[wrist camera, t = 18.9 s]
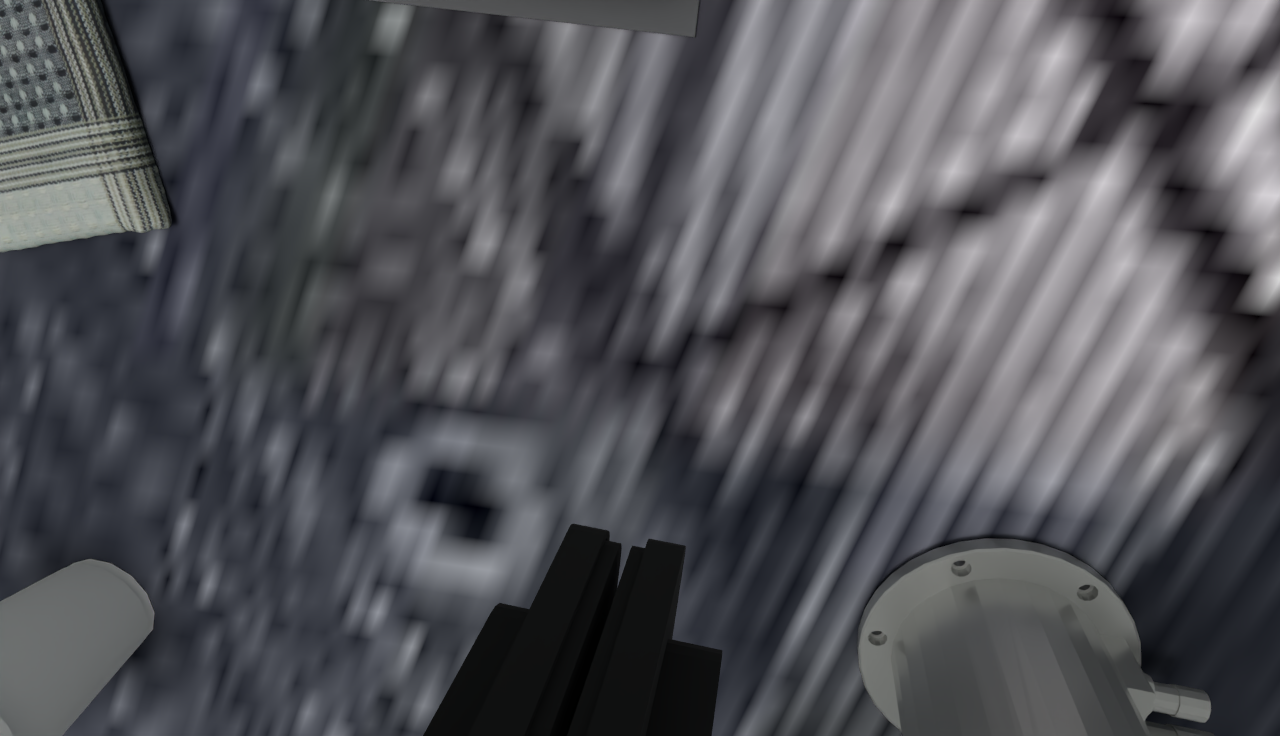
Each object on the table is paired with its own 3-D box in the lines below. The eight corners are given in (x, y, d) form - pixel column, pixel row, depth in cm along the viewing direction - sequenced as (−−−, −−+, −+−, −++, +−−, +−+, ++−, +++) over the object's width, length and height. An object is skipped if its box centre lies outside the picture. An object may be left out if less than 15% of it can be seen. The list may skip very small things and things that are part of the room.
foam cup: (126, 523, 47) (-101, 683, 35) (204, 650, 50) (17, 838, 38) (12, 554, 50) (-235, 712, 38) (92, 673, 53) (-116, 855, 41)
